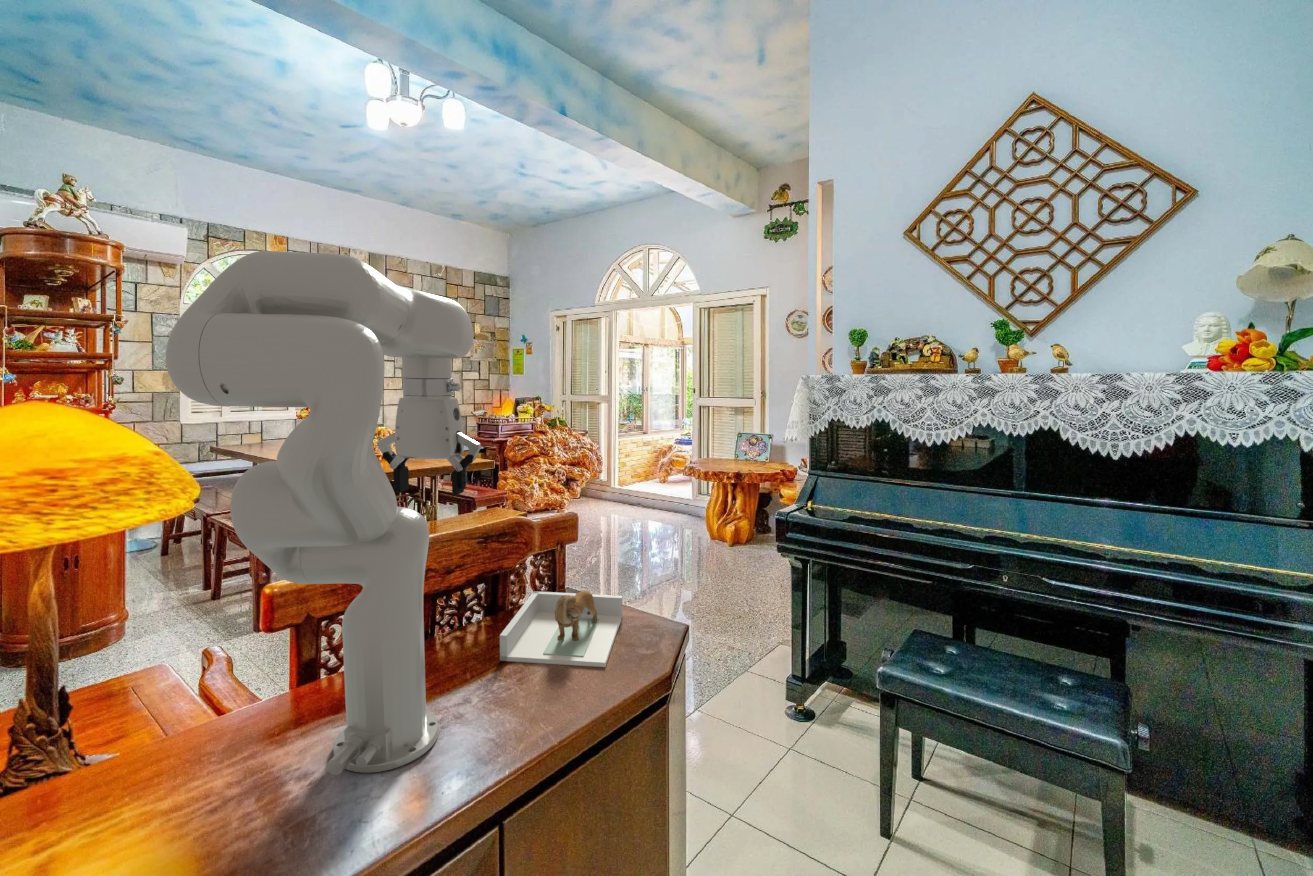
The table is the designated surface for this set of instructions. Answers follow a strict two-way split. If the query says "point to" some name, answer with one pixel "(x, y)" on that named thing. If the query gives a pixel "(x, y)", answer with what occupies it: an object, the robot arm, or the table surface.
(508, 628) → the tray
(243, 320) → the robot arm
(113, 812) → the table surface
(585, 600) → the lion figurine
